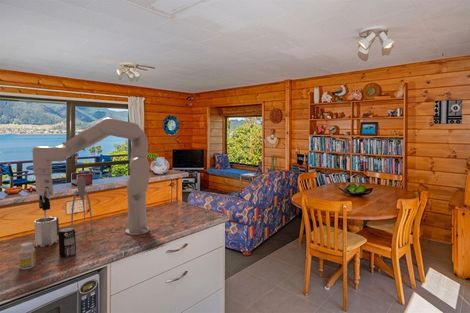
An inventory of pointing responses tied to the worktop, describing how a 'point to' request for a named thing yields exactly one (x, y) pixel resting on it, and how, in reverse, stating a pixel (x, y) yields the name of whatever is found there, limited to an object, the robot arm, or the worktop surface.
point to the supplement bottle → (27, 256)
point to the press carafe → (46, 231)
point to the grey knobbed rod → (44, 210)
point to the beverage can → (67, 242)
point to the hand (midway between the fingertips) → (44, 208)
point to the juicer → (81, 193)
